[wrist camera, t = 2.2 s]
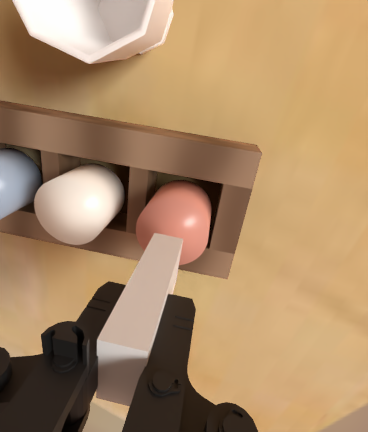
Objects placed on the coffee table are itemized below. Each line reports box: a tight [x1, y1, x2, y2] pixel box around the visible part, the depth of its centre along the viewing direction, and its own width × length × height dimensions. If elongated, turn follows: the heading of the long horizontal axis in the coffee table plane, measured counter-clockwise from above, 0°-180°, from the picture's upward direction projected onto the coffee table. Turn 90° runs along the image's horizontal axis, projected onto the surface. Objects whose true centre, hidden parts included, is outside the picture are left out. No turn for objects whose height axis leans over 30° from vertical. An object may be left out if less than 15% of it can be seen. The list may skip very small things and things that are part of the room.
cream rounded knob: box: [34, 163, 125, 245], centre depth 18 cm, size 4×4×4 cm
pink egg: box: [136, 180, 212, 265], centre depth 18 cm, size 4×4×4 cm
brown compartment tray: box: [0, 101, 262, 279], centre depth 21 cm, size 22×10×3 cm, turn 82°
